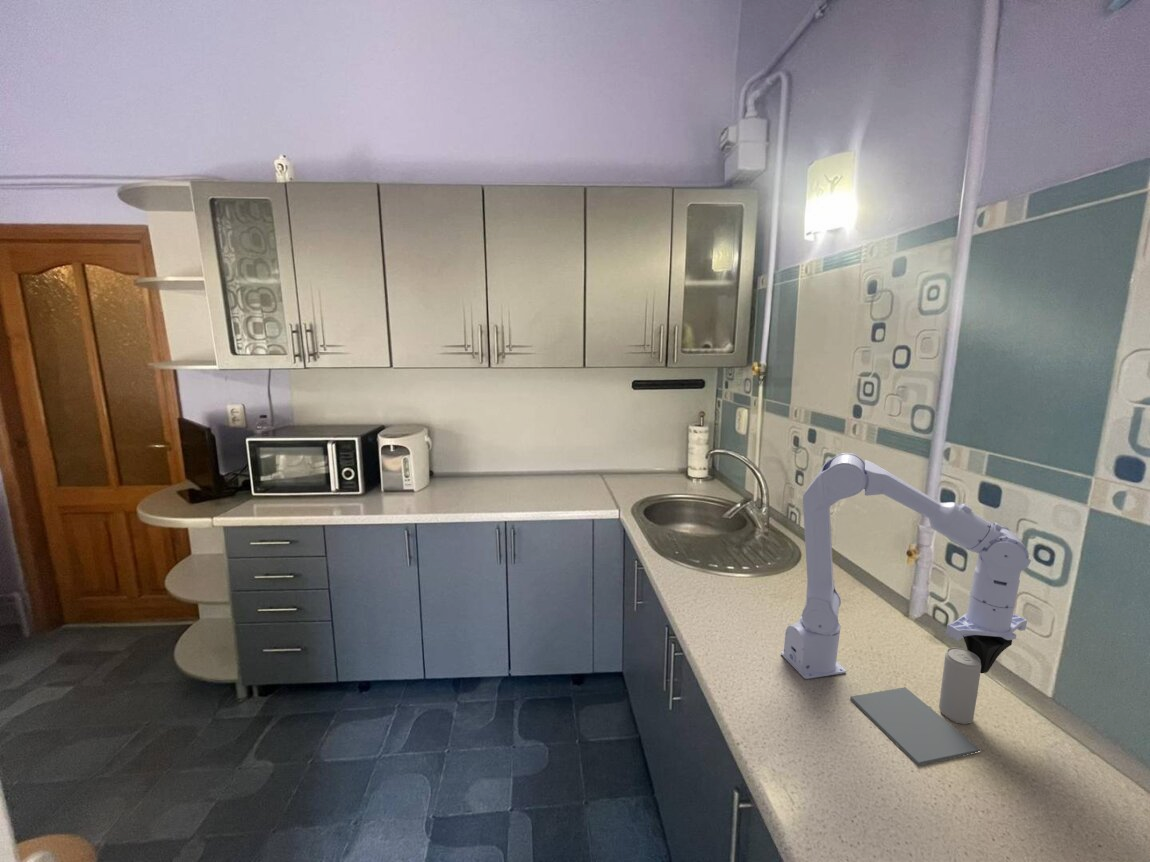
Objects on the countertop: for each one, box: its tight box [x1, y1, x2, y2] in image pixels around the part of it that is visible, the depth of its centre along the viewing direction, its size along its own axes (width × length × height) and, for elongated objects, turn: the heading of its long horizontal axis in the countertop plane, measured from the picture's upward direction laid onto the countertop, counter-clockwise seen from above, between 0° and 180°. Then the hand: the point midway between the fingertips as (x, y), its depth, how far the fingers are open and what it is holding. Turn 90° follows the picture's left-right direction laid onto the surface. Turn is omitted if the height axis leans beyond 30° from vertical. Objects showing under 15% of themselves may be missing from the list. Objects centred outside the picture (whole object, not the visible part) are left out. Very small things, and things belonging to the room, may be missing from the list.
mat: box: [850, 686, 982, 766], centre depth 81 cm, size 12×14×1 cm
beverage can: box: [938, 646, 981, 725], centre depth 82 cm, size 5×5×12 cm
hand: (978, 669), depth 82 cm, fingers closed
